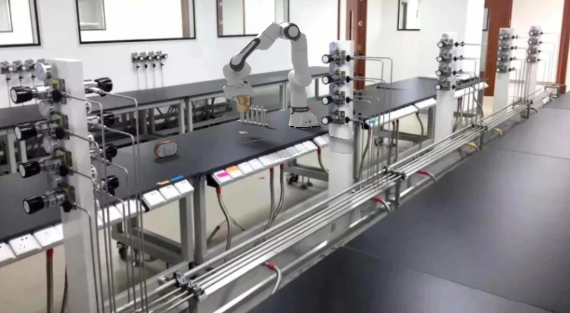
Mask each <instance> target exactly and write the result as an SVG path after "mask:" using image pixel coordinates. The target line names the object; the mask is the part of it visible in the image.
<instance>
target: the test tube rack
mask: <svg viewBox="0 0 570 313" xmlns="http://www.w3.org/2000/svg"><path fill="white" fill-rule="evenodd" d="M254 111H255V115H254ZM259 111H260V122H259ZM268 111H269V109H264V106H260V108H259V105H256V106H254V104H250V112H243V113H241V112H239V119H238V120H236V121H237V122H238V121H239V122H240V123H243V122H244V123H245V124H249V125H252V124H253V125H256V126H260V125H262V126H261V127H266V126H265V125H267V126H269V124H268V123H266V112H268ZM245 113H246V114H245ZM249 113H250V114H249ZM245 115H246V118H245ZM254 116H255V117H254ZM254 118H255V121H254ZM239 122H238V123H239Z"/></svg>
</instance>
